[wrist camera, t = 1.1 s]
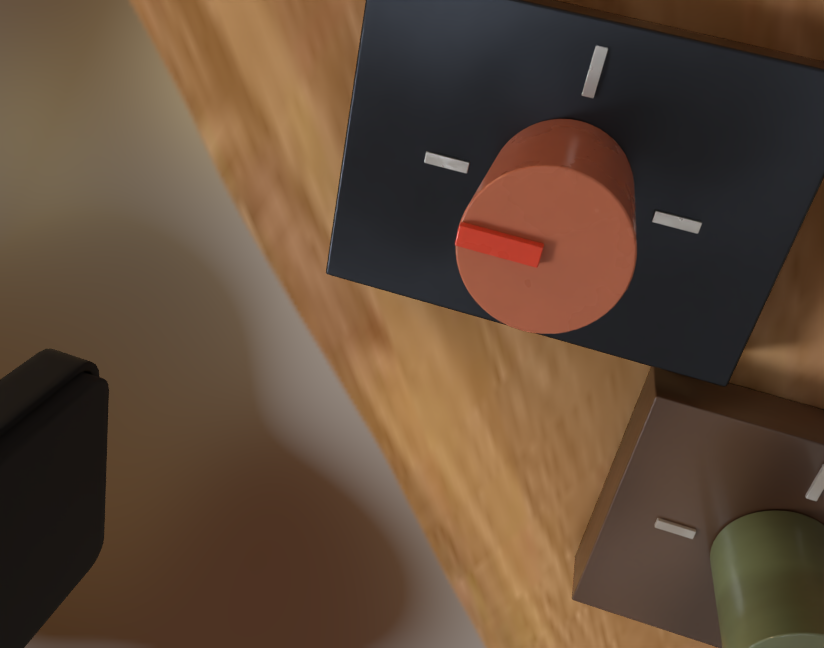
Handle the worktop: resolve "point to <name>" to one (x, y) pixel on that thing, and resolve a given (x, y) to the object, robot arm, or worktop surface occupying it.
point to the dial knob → (551, 229)
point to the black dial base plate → (612, 113)
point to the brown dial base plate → (692, 496)
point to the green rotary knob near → (770, 581)
